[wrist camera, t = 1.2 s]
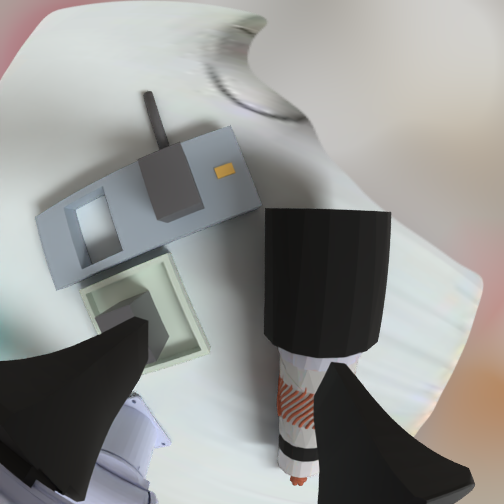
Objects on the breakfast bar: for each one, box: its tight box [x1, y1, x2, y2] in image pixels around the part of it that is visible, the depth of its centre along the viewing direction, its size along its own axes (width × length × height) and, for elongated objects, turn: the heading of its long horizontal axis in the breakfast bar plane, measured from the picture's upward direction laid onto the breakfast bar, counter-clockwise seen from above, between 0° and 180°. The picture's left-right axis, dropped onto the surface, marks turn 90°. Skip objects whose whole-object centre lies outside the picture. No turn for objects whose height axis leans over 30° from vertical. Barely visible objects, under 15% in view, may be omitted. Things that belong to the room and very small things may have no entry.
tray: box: [79, 252, 211, 375], centre depth 25 cm, size 10×10×2 cm
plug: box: [95, 291, 169, 365], centre depth 22 cm, size 4×5×6 cm
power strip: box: [35, 91, 262, 291], centre depth 22 cm, size 22×16×6 cm
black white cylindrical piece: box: [264, 208, 391, 486], centre depth 24 cm, size 10×34×10 cm, turn 178°
